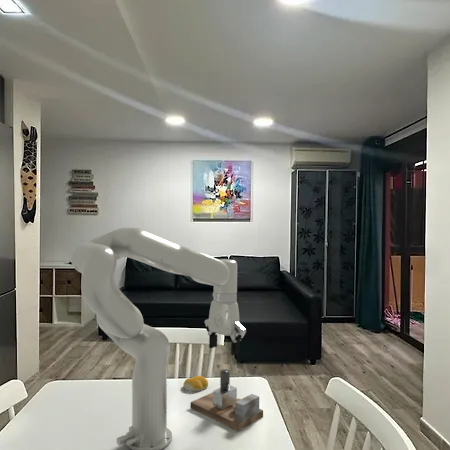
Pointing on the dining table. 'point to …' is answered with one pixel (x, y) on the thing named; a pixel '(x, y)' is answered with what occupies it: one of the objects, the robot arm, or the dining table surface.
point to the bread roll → (196, 383)
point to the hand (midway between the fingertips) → (223, 350)
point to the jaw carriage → (224, 391)
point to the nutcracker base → (230, 411)
